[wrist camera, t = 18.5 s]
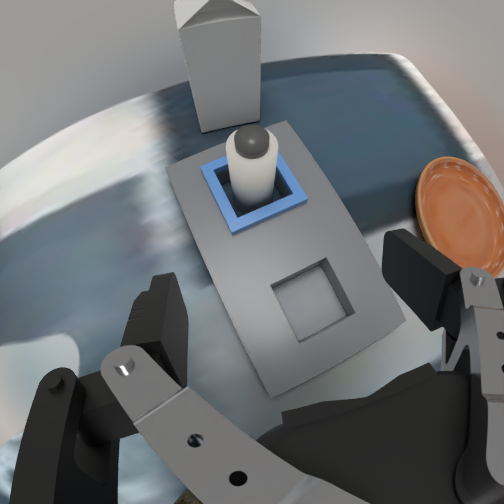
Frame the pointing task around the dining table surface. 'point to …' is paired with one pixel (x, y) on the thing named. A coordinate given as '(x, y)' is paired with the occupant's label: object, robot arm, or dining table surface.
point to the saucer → (461, 214)
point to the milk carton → (221, 59)
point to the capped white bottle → (252, 166)
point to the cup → (188, 498)
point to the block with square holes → (285, 261)
